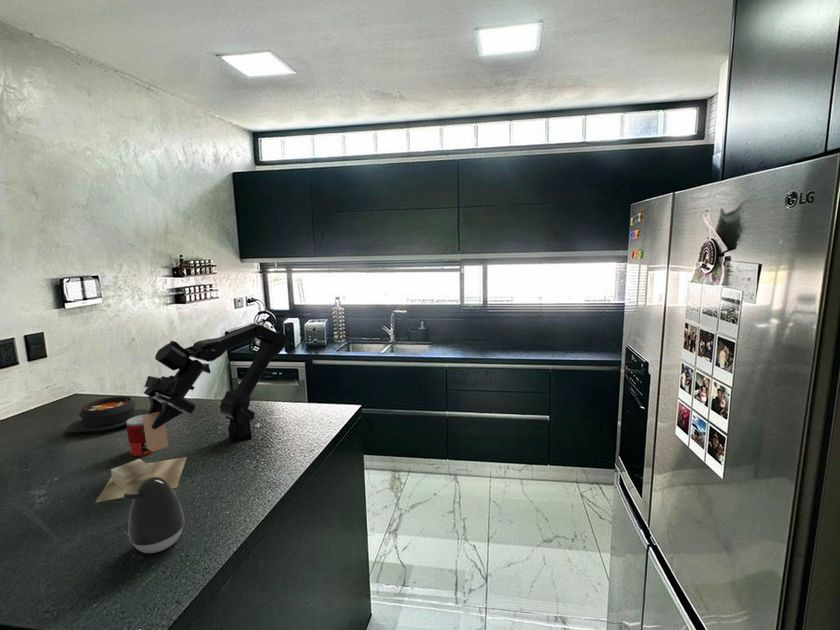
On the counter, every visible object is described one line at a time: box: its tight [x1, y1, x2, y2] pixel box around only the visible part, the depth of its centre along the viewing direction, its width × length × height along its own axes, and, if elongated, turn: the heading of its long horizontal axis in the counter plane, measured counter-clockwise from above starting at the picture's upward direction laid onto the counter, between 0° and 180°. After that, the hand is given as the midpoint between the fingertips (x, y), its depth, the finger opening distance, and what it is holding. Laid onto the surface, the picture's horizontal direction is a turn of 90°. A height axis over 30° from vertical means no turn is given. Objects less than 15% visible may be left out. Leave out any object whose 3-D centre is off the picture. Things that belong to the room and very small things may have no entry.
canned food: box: [125, 414, 157, 457], centre depth 135 cm, size 8×8×11 cm
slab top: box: [110, 458, 152, 483], centre depth 119 cm, size 7×7×2 cm
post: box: [142, 412, 169, 453], centre depth 123 cm, size 4×4×10 cm
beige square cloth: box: [95, 456, 188, 503], centre depth 120 cm, size 18×18×1 cm
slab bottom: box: [111, 472, 152, 489], centre depth 119 cm, size 7×7×2 cm
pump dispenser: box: [123, 477, 185, 554], centre depth 92 cm, size 10×10×15 cm
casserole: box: [65, 395, 149, 434], centre depth 158 cm, size 25×19×8 cm
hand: (149, 426), depth 121 cm, fingers closed on post, 4 cm apart
